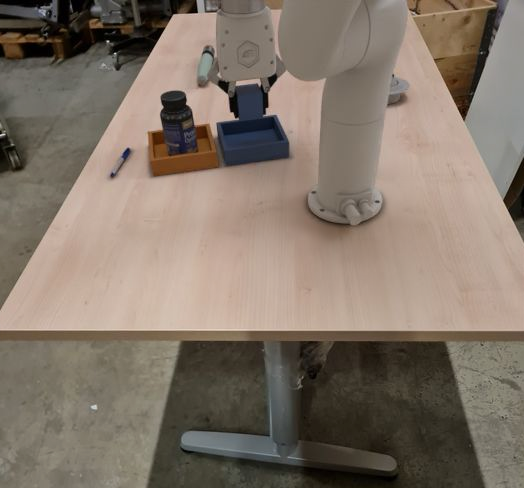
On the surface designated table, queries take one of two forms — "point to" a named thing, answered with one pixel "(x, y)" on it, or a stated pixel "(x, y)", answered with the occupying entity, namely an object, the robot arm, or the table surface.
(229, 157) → the blue tray
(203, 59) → the flashlight
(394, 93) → the grey flanged cylinder
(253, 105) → the block
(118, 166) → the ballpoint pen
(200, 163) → the amber tray
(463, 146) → the table surface
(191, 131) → the pill bottle
